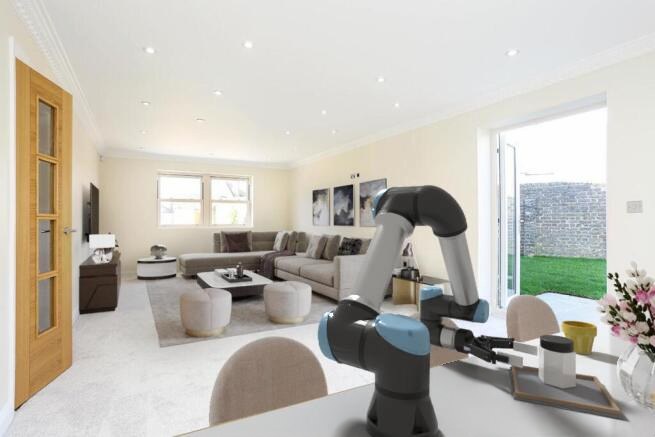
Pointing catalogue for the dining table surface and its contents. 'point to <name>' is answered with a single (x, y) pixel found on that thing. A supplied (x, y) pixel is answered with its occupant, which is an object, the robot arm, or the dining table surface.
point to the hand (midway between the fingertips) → (530, 356)
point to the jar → (557, 361)
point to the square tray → (563, 393)
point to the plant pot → (580, 335)
